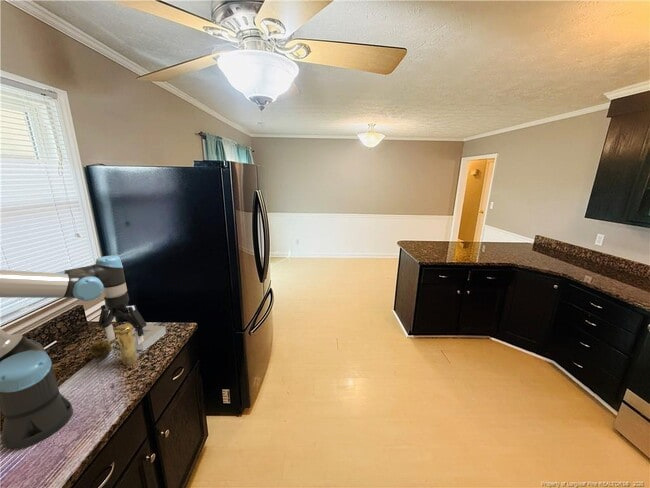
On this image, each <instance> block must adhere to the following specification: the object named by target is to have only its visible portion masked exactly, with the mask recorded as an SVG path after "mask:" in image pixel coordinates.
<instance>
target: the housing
mask: <svg viewBox="0 0 650 488" xmlns="http://www.w3.org/2000/svg"><path fill="white" fill-rule="evenodd" d="M131 330H132V335H133V339H134V344H135V349H136V351H141V352H144V351H146V350H147V349H148V348H149V347H150V346H152V345H153V344H154V343H156V342H157V341H159V339H161V338H162V337H163V336H165V335H167V331H166V326H165V325H152V324H147V325H146V326H145V327H143V333H144V334H143V339H144V341H143V342H141V343H140V344H139V345H137V342H136V337H135V333H134V330H135V328H134V327H133V328H132V329H131ZM114 343H115V348H116V349H117V350H120V348H119V343H118V339H114Z"/></svg>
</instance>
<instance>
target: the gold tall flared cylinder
mask: <svg viewBox="0 0 650 488" xmlns="http://www.w3.org/2000/svg"><path fill="white" fill-rule="evenodd" d="M132 329H134V327H133V326H132V325H131V324H130V323H129V322H128V323H123V324H120V325H117V326H115V327H113V331H114V335H116V337H117V339H118V343H119V348H120V349H119V351H120V357H121V360H122V364H123V365H124V366H129V365H132V364H133V363H136V362H137V361H138V355H137V350H136V349H135V344H134V339H133V335H132ZM117 339H116V340H117Z"/></svg>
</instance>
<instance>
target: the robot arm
mask: <svg viewBox="0 0 650 488" xmlns="http://www.w3.org/2000/svg"><path fill="white" fill-rule="evenodd" d="M124 273H125V272H124V266H123V264H122V260H121V257H120V256H118V255H105V256H100V257H98V258H96V260H95V263H94V264H91V265H87V266H81V267H77V268H76V267H75V268H70V269H64V270H61V271H57V272H44V271H43V272H42V271H41V272H40V271H27V270H26V271H25V270H23V271H22V270H6V269H0V298H17V299H18V298H24V299H25V298H29V299H30V298H33V299H36V298H39V299H40V298H41V299H42V298H43V299H45V298H54V299H57V298H59V299H60V298H61V299H64V298H65V299H76V300H79V301H82V302H89V301H93V300H96V299H98V298H99V297H100V296H101V295H102V296H103V300H104V303H105V304H103V305H101V306H100V316H99V318H98V319H99V320H98V323H97V325H98V326H99V327H102V328H103V330H104V334H105V336H106V340H107V341H106V342H108V343H111V342H112V341H115V340H116V334H115V333H114V331H113V329H114V327H113V324H112V322H113V320H114V319H115V317H120V318H123V319H125V320H126V321H127V322H128V323H130V324H131V325H132V326H133V329H134V328H135V330H134V333H135V337H136V342H137V345H139V344H140V343H141V342H143V341H144V339H143V334H144V333H143V327H145V326H146V325H148V324H147V322H146V321H145V320H144V317H143V316H142V315H141V313H140V311H138V308H137V305H136V304H133V305H129V302H130V297H129V293H128V287H127V283H126V278H125V274H124ZM52 363H53V362H52V359H51V357H50V355H49V354H48V353H47V352H46V349H45V347H44V346H43V345H42V344H41V343H40V342H38V341H36V340H33V339H28V338H27V337H25V336H24V335H23V334H20V333H17V334H16V333H15V334H9V333H8V332H6V331H5V330H3V329H1V328H0V410H1V413H2V416H3V424H2V431H1V437H0V440H1V442H2V445H3V447H4V448H5V449H7V450H19V449H23V448H26V447H30V446H33V445H35V444H37V443H39V442H42V441H44V440H46V439H47V438H49V437H51V436H52V435H53V434H56V432H58V431H59V430H61V429H62V428H63V427H64V426H66V424H67V423H68V422H69V421H70V419H71V418H72V416H73V415H74V407H73V405H72V403H71V402H70V401H69V399H67V398H66V397H65V396H64V395H62V393H61V392H60V389H59V386H58V382H57V378H56V376H55V372H54V368H53V365H52Z"/></svg>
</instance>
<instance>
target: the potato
mask: <svg viewBox="0 0 650 488" xmlns="http://www.w3.org/2000/svg"><path fill="white" fill-rule="evenodd" d="M112 349H113V346H112V344H111V342H108V341H106V340H98V341H95V342H94V343H93V344H90V346H89V352H90V354H92V355H93V356H94V357H96V358H97V359H100V358H103V357H106V356H108V355H109V354H110V352H111V351H112Z"/></svg>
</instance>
